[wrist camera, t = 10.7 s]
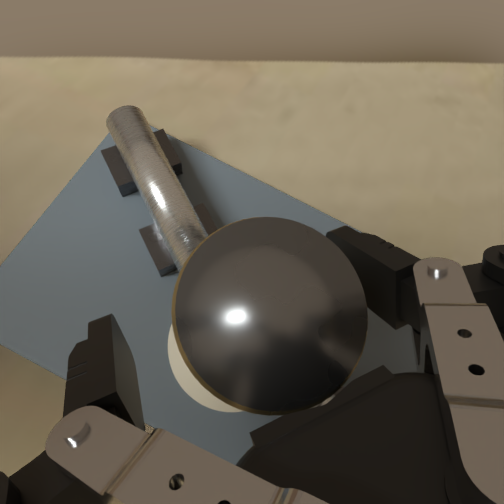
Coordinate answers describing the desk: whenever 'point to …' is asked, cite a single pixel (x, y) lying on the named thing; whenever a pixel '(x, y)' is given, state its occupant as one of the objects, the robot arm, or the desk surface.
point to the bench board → (148, 291)
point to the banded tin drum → (269, 316)
